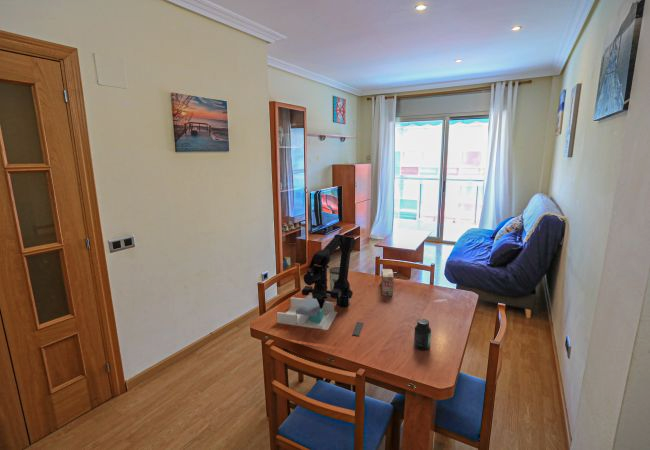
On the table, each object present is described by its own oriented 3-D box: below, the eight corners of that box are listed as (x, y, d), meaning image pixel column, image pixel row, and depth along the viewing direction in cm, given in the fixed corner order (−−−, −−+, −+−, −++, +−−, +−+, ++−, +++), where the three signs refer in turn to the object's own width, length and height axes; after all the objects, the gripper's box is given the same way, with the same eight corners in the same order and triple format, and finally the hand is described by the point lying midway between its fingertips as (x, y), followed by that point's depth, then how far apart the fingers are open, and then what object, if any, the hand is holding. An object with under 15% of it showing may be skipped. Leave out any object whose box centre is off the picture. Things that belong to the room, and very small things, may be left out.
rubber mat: (363, 323, 166) (363, 322, 166) (359, 336, 155) (359, 335, 155) (340, 320, 170) (340, 319, 170) (333, 332, 158) (333, 331, 158)
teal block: (323, 318, 170) (322, 308, 169) (320, 322, 166) (320, 313, 165) (313, 316, 172) (313, 307, 171) (310, 321, 167) (310, 312, 166)
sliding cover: (326, 300, 177) (326, 297, 177) (315, 316, 161) (315, 312, 160) (308, 298, 180) (308, 295, 180) (296, 313, 163) (296, 310, 163)
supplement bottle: (433, 349, 144) (434, 324, 141) (418, 351, 142) (419, 326, 140) (425, 341, 150) (426, 316, 148) (411, 343, 149) (412, 318, 146)
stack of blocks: (381, 282, 219) (381, 264, 216) (390, 282, 218) (391, 264, 216) (382, 295, 198) (382, 276, 196) (393, 296, 198) (393, 276, 195)
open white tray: (337, 313, 177) (337, 302, 176) (327, 331, 159) (327, 319, 158) (291, 307, 184) (291, 297, 183) (277, 324, 166) (277, 312, 165)
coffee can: (345, 288, 210) (345, 266, 207) (346, 294, 200) (346, 272, 197) (329, 288, 210) (329, 266, 207) (329, 294, 200) (329, 272, 197)
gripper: (297, 283, 158) (298, 313, 162) (335, 286, 153) (335, 318, 157) (305, 274, 169) (305, 303, 172) (341, 278, 164) (341, 307, 167)
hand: (321, 308), depth 167 cm, fingers closed
